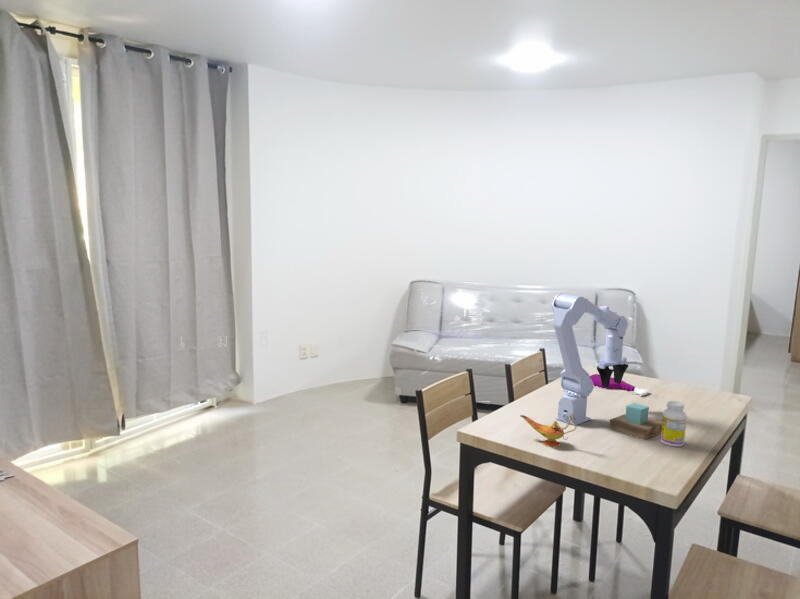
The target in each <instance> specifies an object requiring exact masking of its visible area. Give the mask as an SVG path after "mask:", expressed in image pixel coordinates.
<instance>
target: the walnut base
mask: <svg viewBox="0 0 800 599" xmlns="http://www.w3.org/2000/svg"><path fill="white" fill-rule="evenodd" d="M625 419H626V413H624V414H622V415H618V416H616V417H613V418H610V419H609V427H608V428H609V429H610V430H613V431H617V432H619V433H622V434H624V435H625V434H626V435H628V434H629V436H631V435H632V436H631V437H634V436H635V437H634V438H637V437H638V438H637V439H640V438H641V439H640V440H642V439H643V441H645V440H647V439H649V438H652V437H654V436H656V435H658V434H661V433H660V432H661V430H662V421H660V420H657V419H653V418H650V417H648V422H646V423H643V424H641V425H638V424H635V423H632V422H629V421H625ZM653 435H654V436H653ZM651 436H652V437H651ZM644 439H645V440H644Z"/></svg>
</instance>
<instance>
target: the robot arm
mask: <svg viewBox="0 0 800 599" xmlns="http://www.w3.org/2000/svg"><path fill="white" fill-rule="evenodd" d="M551 310H552V314H553V326H554V331H555V336H556V339H557V343H558V346H559V350H560V354H561V357H562V362H563V366H564V369H562V371H561V372H560V374H559V375H560V386H561V388H562V389H563V393H564V396H563V397H561V398H560V399H559V401H558V409H557V410H558V411H557V412H558V413H557V416H555V419H556V420H558V421H562V422H564V423H567V424H568V422H569V419H570V417H571V415H572V414H574V416H572V418H574V419H572V420H573V421H574V422H575V424H576V426H577V425H579V424H583V423H586V422H588V421H591V420H592V417H589V416H587V406H588V397H589V396H591V393H592V392H593V391H594V386H593V381H592V380H591V379H590V377H589V376H590V374H589V372H588V371H587V370H585V369H584V368H583V366H582V362H581V361H582V360H581V357H580V354H579V349H578V345H577V342H576V336H575V332H574V329H573V326H575V325H577V324H578V322H579V321H580V320H581V318H582V317H583V316H584V314H585V313H587V314H588V315H590V316H592V319H593V320H594V321H595V322H597V323H598V324H599V325H602V326H603V328H604V329H606V334H605V349H604V350H605V351H604V359H602V360H601V361H600V362H598V365H597V366H596V370H597V372H598V374H599V375H600V377H601V382H602V386H603V387H607V388H608V387H609V383H610V378H611V377H612V375H613V378H614V383H618V384H620V383H621V380H622V381H623V377H624V374H625V372H626V371H627V369H628V368H629V364H627V357H626V356H623V349H624V337H625V336H626V331H627V330H628V327H629V323H628V319H627V318H626V317H625V316H624V315H619V314H618V313H617V311H614V310H611V309H610V307H609V306H607V305H603V306H602V305H601V306H598V305H596V304H594V303H593V302H591V300H589V299H588V298H586V297H584V296H576V295H571V294H565V293H563V292H561V293H558V294H556V295H555V297H554V299H553V301H552V303H551ZM610 367H612V369H611V368H610ZM569 415H570V416H569ZM570 420H571V419H570ZM572 420H571V421H570V422H569V425H572V426H575V424H574V423H573V421H572Z"/></svg>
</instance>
